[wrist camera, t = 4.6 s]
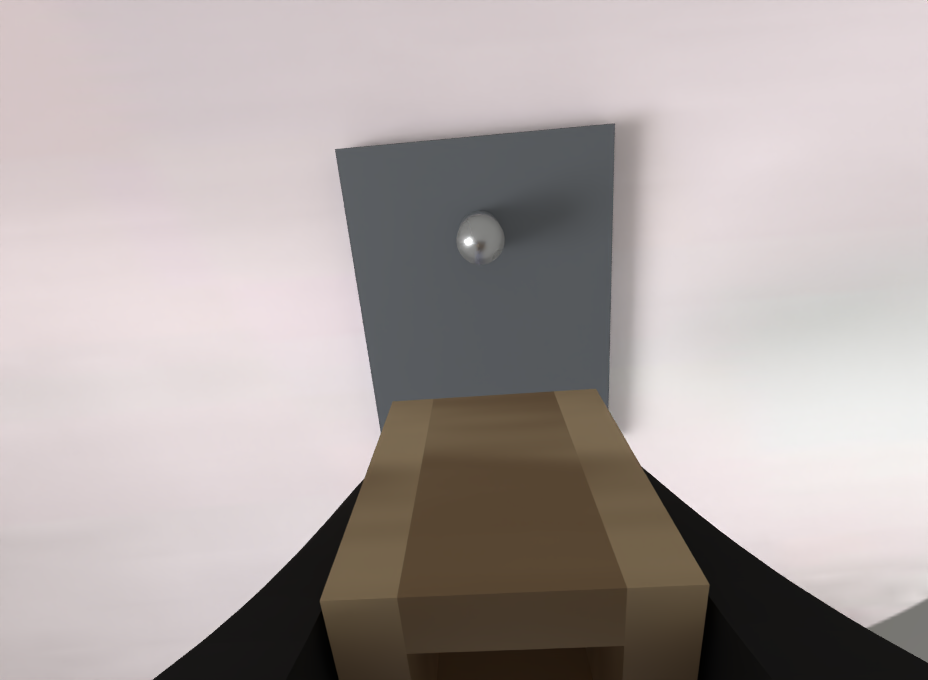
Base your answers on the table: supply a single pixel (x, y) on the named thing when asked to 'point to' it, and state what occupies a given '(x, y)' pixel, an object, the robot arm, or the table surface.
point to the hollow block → (511, 551)
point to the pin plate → (489, 285)
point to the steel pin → (480, 238)
